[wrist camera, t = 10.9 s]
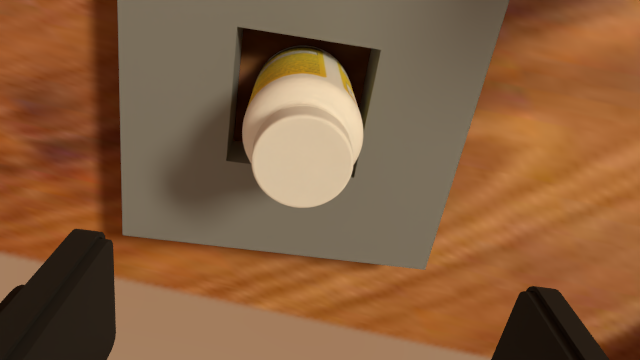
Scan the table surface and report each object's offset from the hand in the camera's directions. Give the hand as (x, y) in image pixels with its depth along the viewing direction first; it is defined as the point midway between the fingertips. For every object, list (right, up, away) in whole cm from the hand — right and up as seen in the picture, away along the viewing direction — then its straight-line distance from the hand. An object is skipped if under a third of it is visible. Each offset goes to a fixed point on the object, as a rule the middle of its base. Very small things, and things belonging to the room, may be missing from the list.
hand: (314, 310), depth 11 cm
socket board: (-1, +8, +16) cm, 18 cm away
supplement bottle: (-1, +8, +16) cm, 18 cm away
